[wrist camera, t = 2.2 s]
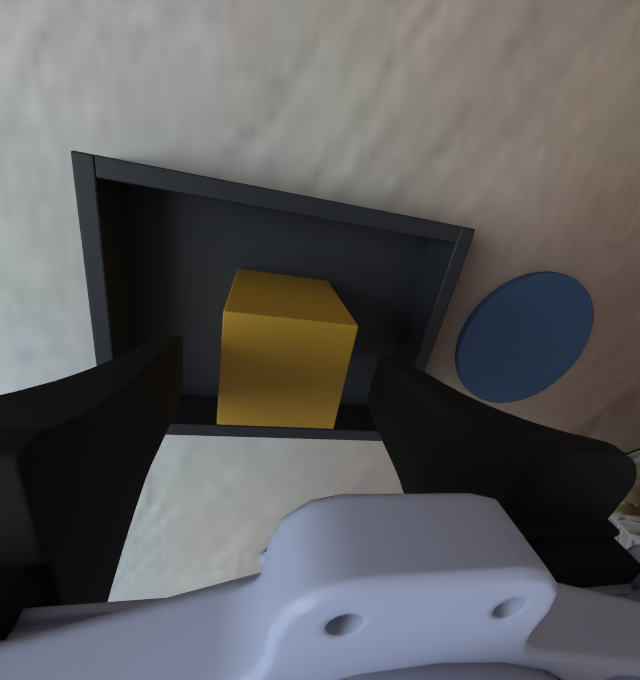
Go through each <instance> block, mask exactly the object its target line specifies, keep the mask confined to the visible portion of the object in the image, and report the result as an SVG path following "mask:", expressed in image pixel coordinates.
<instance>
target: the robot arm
mask: <svg viewBox="0 0 640 680" xmlns="http://www.w3.org/2000/svg"><path fill="white" fill-rule="evenodd" d="M182 389H183V336H172V335H162V336H159V337H157V338H155V339H153V340H151V341H149V342H147V343H145V344H143V345H141V346H139V347H137V348H135V349H133V350H131V351H129V352H127V353H125V354H123V355H121V356H119V357H116V358H114V359H112V360H110V361H107V362H105V363H103V364H101V365H98V366H96V367H93V368H91V369H88V370H86V371H83V372H80V373H77V374H75V375H72V376H69V377H66V378H63V379H60V380H56V381H53V382H49V383H46V384H42V385H38V386H35V387H31V388H27V389H23V390H20V391H16V392H12V393H8V394H3V395H0V680H640V544H637V545H633V546H631V547H629V548H627V549H625V548H624V547H623V546H622V545H621V544H620V543H619V542H618V541H617V540H616V539H615V538H614V537H617V536H618V535H619V534H620V532H619V529H618V528H617V527H616V526H615V525H614V524H613V523H612V522H611V521H610V520H609V517H610V516H611V515H612V514H613V512H614V511H615V510H616V509H617V507H618V506H619V505H620V504H621V502H622V501H623V500H624V499H625V497H626V496H627V495H628V493H629V492H630V490H631V489H632V487H633V486H634V483H635V480H636V478H637V467H636V464H635V462H634V460H633V459H632V458H631V457H629V456H628V455H627V454H625V453H624V452H623V451H621V450H620V449H619V448H617V447H616V446H614V445H612V444H610V443H607V442H604V441H600V440H596V439H592V438H588V437H584V436H580V435H576V434H572V433H567V432H563V431H560V430H556V429H553V428H550V427H546V426H543V425H540V424H536V423H533V422H530V421H527V420H524V419H522V418H519V417H516V416H513V415H511V414H508V413H505V412H503V411H500V410H498V409H495V408H493V407H490V406H488V405H486V404H484V403H481V402H479V401H477V400H475V399H473V398H471V397H469V396H466V395H464V394H462V393H461V392H459V391H457V390H455V389H453V388H451V387H449V386H448V385H446V384H444V383H442V382H441V381H439V380H437V379H435V378H434V377H432V376H430V375H429V374H427V373H425V372H424V371H422V370H420V369H418V368H417V367H415V366H413V365H412V364H410V363H408V362H406V361H405V360H403V359H401V358H398V357H396V356H391V355H379V359H378V362H377V366H376V369H375V373H374V376H373V380H372V383H371V387H370V390H369V394H368V397H367V399H368V403H369V407H370V411H371V414H372V417H373V420H374V423H375V425H376V427H377V430H378V432H379V434H380V436H381V439H382V441H383V443H384V445H385V447H386V450H387V452H388V454H389V456H390V458H391V461H392V463H393V465H394V467H395V470H396V472H397V475H398V477H399V480H400V483H401V486H402V489H403V492H404V494H340V495H335V496H330V497H325V498H320V499H314V500H310V501H309V502H307V503H306V504H304V505H302V506H301V507H299V508H298V509H296V510H294V511H293V512H291V513H289V514H288V515H286V516H285V517H284V518H283V519H281V521H280V523H279V524H278V526H277V528H276V529H275V531H274V533H273V535H272V536H271V538H270V540H269V541H268V547H267V551H266V552H264V553H262V554H261V555H260V556H259V557H258V563H259V564H260V565H261V566H263V570H262V572H261V573H257V574H253V575H250V576H246V577H242V578H238V579H235V580H231V581H227V582H224V583H220V584H216V585H212V586H209V587H205V588H201V589H198V590H194V591H190V592H186V593H183V594H179V595H175V596H172V597H168V598H158V599H144V600H130V601H117V602H108V598H109V594H110V591H111V587H112V584H113V580H114V577H115V574H116V570H117V567H118V564H119V560H120V557H121V553H122V550H123V547H124V543H125V540H126V537H127V534H128V531H129V528H130V524H131V521H132V518H133V515H134V512H135V509H136V506H137V503H138V500H139V497H140V494H141V491H142V488H143V485H144V482H145V479H146V476H147V474H148V471H149V469H150V466H151V464H152V462H153V460H154V458H155V456H156V453H157V451H158V449H159V447H160V445H161V443H162V440H163V438H164V436H165V434H166V432H167V430H168V428H169V425H170V423H171V421H172V419H173V417H174V414H175V412H176V409H177V406H178V403H179V399H180V396H181V392H182Z"/></svg>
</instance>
